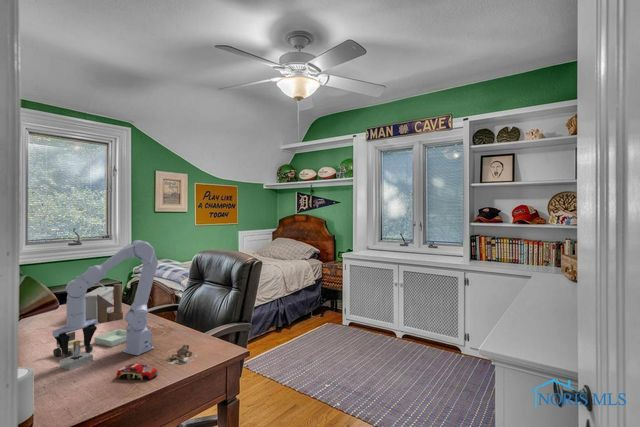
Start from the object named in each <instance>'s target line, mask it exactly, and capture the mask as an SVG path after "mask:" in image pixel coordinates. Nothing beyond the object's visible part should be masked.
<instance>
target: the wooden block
mask: <svg viewBox="0 0 640 427" xmlns="http://www.w3.org/2000/svg"><path fill="white" fill-rule="evenodd" d="M113 287H114V290H113V303H112V304H111V303H110V302H108V301H107V300H106V299H104V298H103V297H101V296H100V295H99V294H97V320H98V323H99V324H103V323H108V322H113V321H116V320H117V321H119V320H122V319H123V318H124V311H123V305H122V304H123V302H122V301H123V298H122V297H123V296H122V295H123V293H122V292H123V289H122V288H123V285H122V283H114V284H113ZM109 307H112V308H113V311H112V312H111V311H109V312H107V308H109Z"/></svg>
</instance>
